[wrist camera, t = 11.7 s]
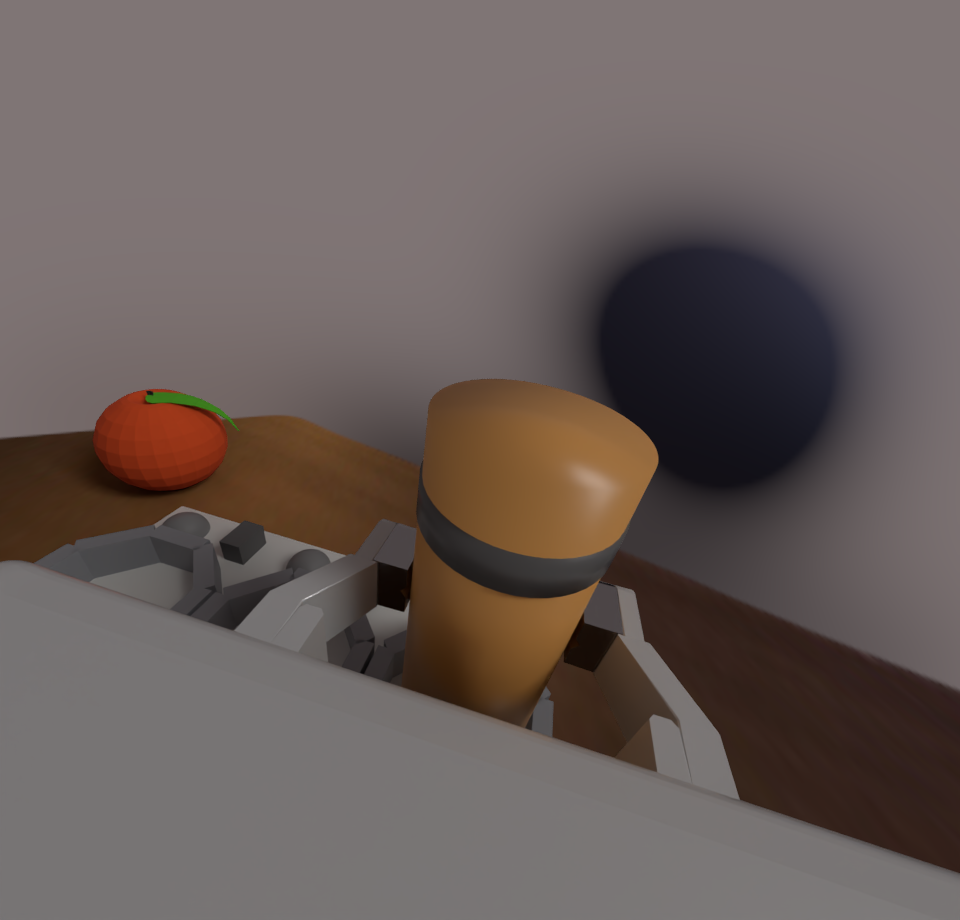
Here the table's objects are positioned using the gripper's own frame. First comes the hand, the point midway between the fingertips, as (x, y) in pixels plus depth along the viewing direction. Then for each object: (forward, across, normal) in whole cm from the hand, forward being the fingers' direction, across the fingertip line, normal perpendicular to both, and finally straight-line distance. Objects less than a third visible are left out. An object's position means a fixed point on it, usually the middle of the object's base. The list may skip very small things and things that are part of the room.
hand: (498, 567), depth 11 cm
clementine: (+10, +24, +11) cm, 28 cm away
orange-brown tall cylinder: (-1, 0, +7) cm, 7 cm away
